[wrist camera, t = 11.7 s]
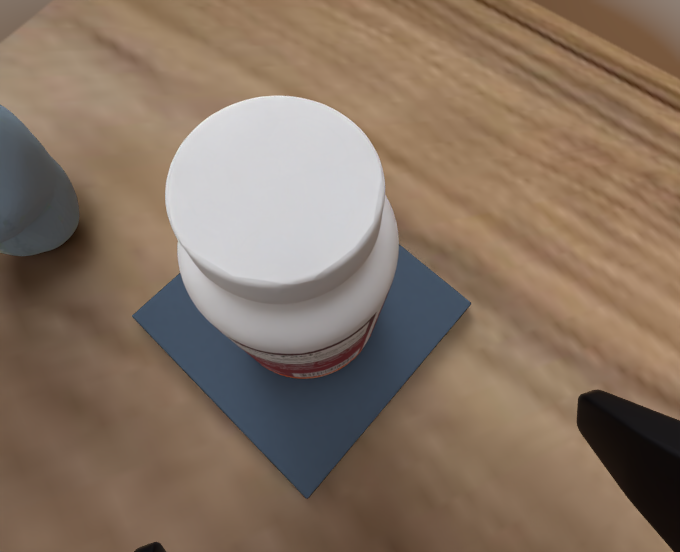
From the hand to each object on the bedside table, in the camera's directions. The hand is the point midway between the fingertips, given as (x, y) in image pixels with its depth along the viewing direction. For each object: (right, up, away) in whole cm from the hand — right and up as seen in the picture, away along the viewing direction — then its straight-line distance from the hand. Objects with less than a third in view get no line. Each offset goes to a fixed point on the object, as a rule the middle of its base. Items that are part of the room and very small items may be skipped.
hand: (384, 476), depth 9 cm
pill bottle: (-2, +2, +11) cm, 11 cm away
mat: (-3, +2, +11) cm, 12 cm away
